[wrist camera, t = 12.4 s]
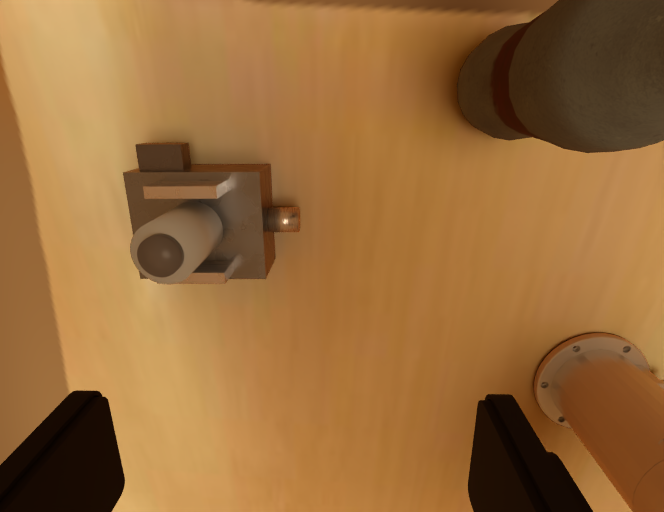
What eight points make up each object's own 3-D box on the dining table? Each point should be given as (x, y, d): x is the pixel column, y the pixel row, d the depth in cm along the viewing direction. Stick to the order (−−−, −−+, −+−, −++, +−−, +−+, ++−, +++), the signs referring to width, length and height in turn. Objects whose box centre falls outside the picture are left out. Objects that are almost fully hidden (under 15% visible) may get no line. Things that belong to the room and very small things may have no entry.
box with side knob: (299, 140, 41) (288, 147, 33) (303, 258, 45) (294, 291, 37) (148, 141, 42) (99, 148, 33) (165, 258, 46) (125, 291, 37)
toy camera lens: (221, 203, 37) (189, 226, 30) (224, 256, 39) (194, 290, 32) (166, 199, 38) (121, 222, 30) (170, 252, 39) (128, 286, 32)
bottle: (434, 119, 41) (650, 133, 12) (474, 17, 38) (878, -278, 9) (523, 150, 41) (923, 233, 13) (569, 53, 38) (1212, -119, 10)
